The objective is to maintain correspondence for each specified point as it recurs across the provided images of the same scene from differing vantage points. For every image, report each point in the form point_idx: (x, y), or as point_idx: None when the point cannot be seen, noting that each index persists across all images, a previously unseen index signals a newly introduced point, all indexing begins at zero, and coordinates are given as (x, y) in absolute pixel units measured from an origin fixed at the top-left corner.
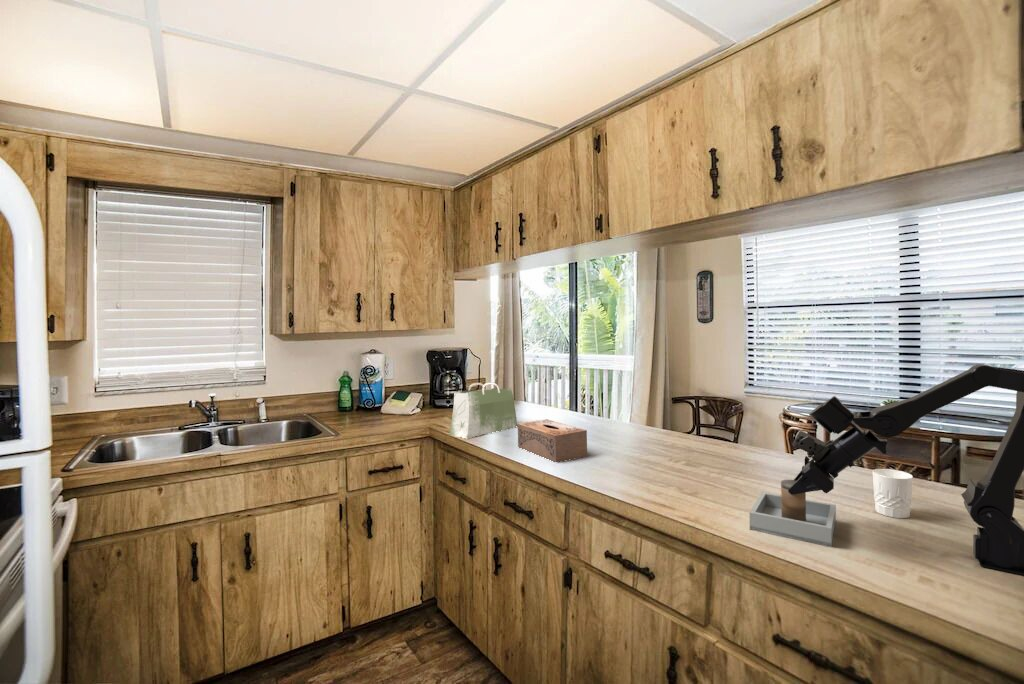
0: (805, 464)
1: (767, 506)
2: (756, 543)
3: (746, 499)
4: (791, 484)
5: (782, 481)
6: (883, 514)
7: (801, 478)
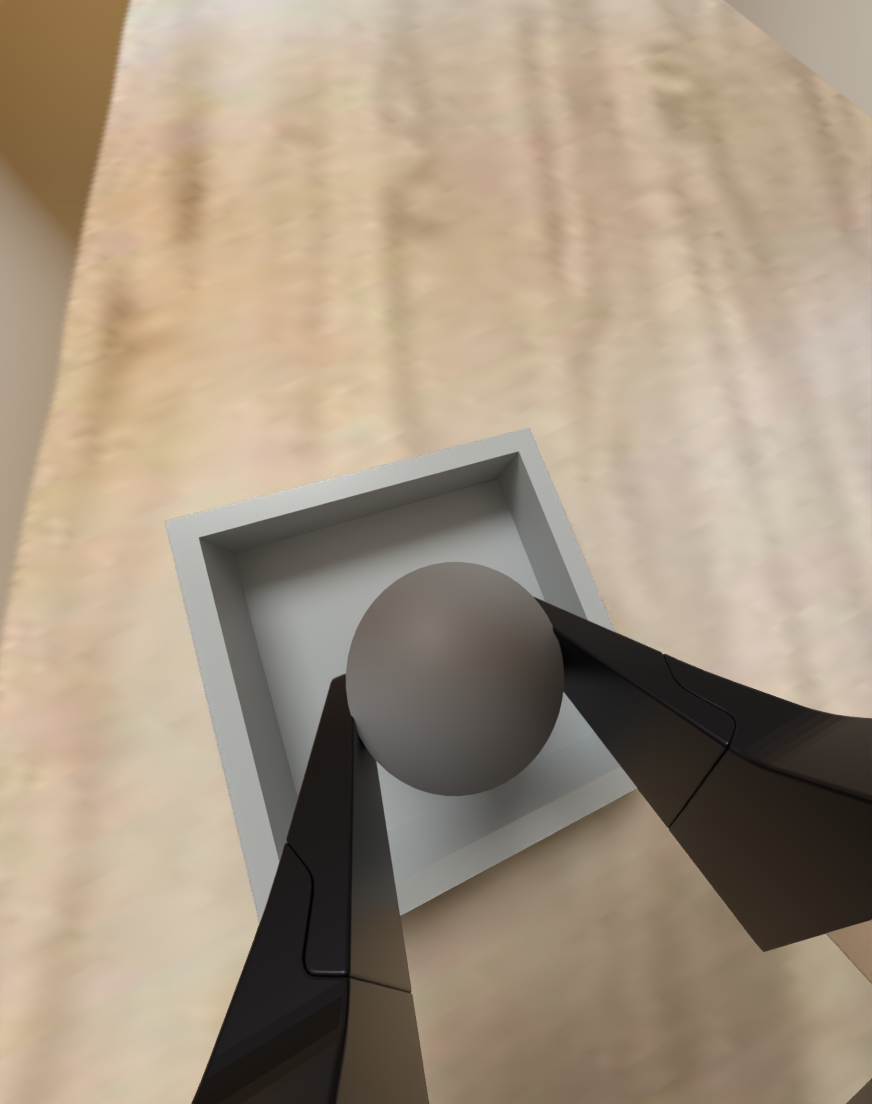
0: (829, 801)
1: (499, 485)
2: (65, 644)
3: (528, 387)
4: (401, 684)
5: (428, 577)
6: None
7: (230, 1023)
